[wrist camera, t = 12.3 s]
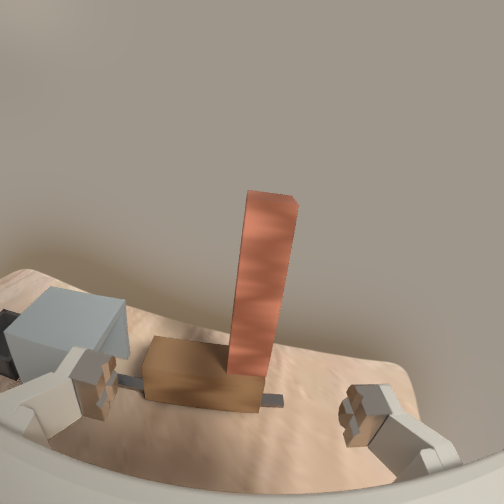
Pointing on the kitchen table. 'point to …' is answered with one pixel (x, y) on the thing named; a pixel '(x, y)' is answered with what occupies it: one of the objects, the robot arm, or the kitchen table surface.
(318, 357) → the kitchen table surface
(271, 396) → the rail
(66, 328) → the tunnel
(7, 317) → the dark grey tray
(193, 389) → the upright post on base
